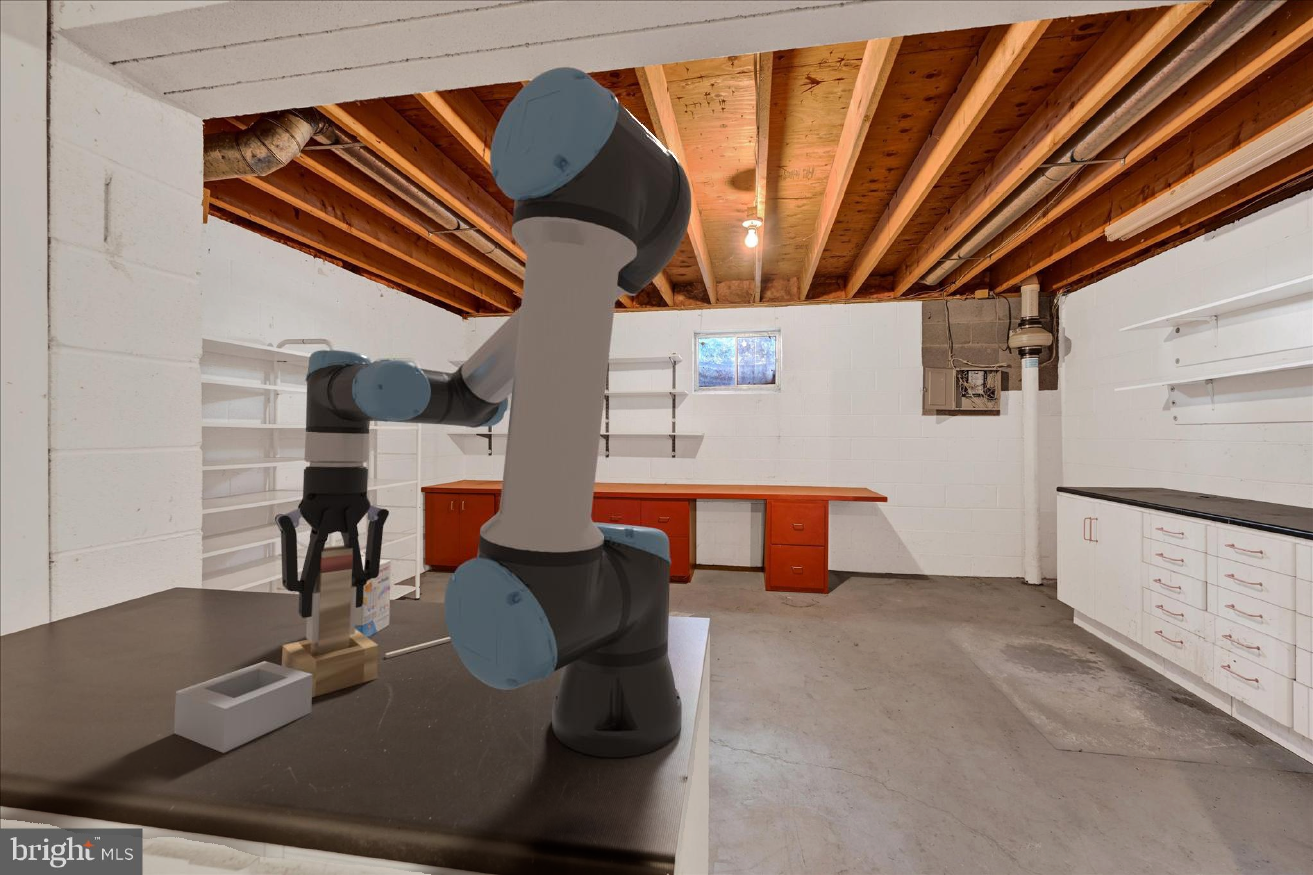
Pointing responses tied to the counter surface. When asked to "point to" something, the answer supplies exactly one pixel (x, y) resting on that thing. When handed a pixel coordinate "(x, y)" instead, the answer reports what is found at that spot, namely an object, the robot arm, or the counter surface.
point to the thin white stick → (417, 647)
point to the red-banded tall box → (334, 599)
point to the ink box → (374, 601)
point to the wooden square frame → (334, 663)
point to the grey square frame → (242, 705)
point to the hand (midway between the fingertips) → (330, 635)
